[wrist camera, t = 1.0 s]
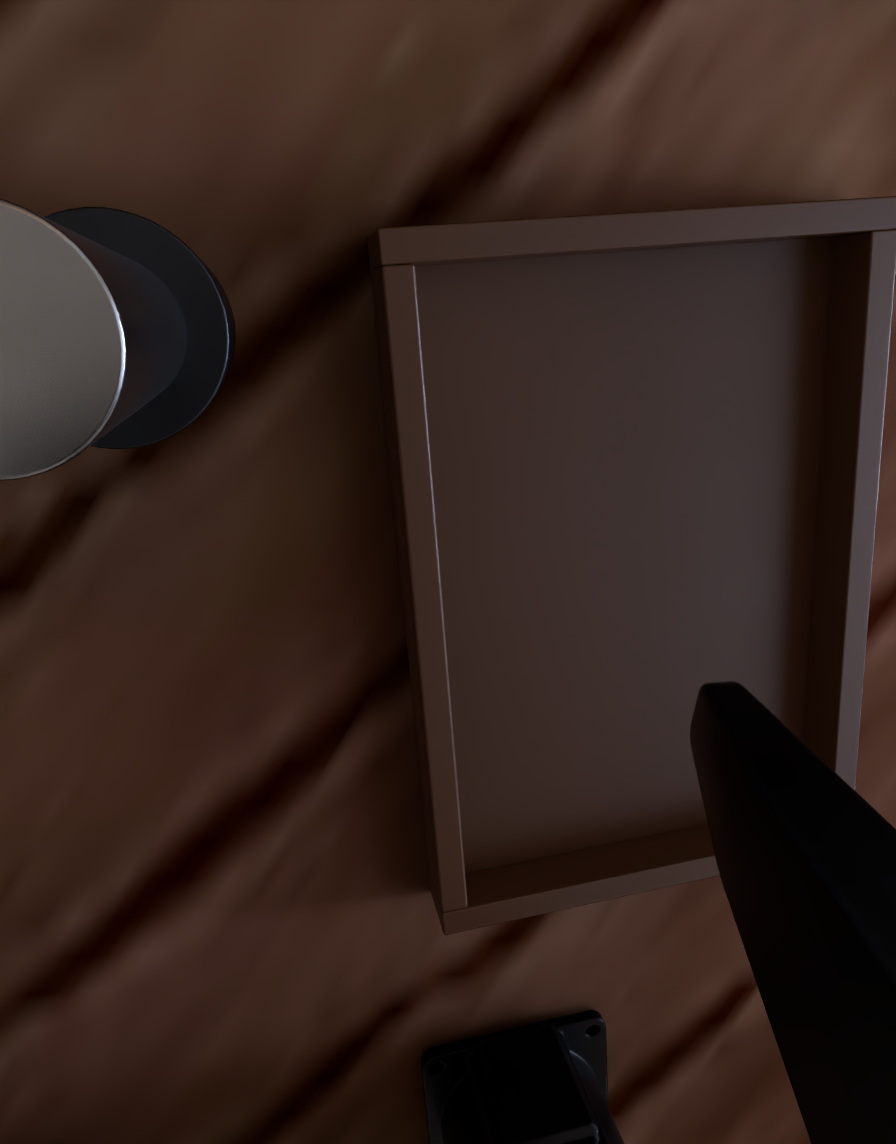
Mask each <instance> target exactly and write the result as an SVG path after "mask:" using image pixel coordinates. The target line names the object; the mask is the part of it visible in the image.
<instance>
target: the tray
mask: <svg viewBox="0 0 896 1144" xmlns="http://www.w3.org/2000/svg"><path fill="white" fill-rule="evenodd" d="M367 241H368V251H369V262H370V272H371V282H372V292H373V302H374V313H375V323H376V333H377V343H378V354H379V364H380V374H381V384H382V394H383V405H384V415H385V425H386V435H387V445H388V456H389V466H390V476H391V486H392V497H393V507H394V517H395V527H396V537H397V548H398V558H399V568H400V578H401V588H402V599H403V609H404V619H405V629H406V639H407V650H408V660H409V670H410V680H411V691H412V701H413V711H414V721H415V731H416V742H417V752H418V762H419V772H420V782H421V793H422V803H423V813H424V823H425V834H426V844H427V854H428V864H429V874H430V885H431V894H432V897H433V900H434V903H435V907H436V910H437V913H438V917H439V920H440V923H441V926H442V930H443V933H444V935H448V934H453V933H457V932H462V931H467V930H471V929H476V928H480V927H485V926H490V925H494V924H499V923H503V922H508V921H513V920H517V919H522V918H526V917H531V916H536V915H540V914H545V913H549V912H554V911H559V910H563V909H568V908H572V907H577V906H581V905H586V904H591V903H595V902H600V901H604V900H609V899H614V898H618V897H623V896H627V895H632V894H637V893H641V892H646V891H650V890H655V889H660V888H664V887H669V886H673V885H678V884H683V883H687V882H692V881H696V880H701V879H705V878H710V877H715V876H719V875H720V873H719V870H718V867H717V863H716V858H715V854H714V850H713V846H712V841H711V837H710V832H709V827H708V823H707V818H706V814H705V809H704V804H703V800H702V795H701V791H700V786H699V781H698V777H697V772H696V768H695V763H694V759H693V754H692V749H691V744H690V726H691V721H692V717H693V713H694V709H695V704H696V700H697V696H698V692H699V689H700V687H701V686H702V685H703V684H705V683H711V682H724V681H735V682H738V683H740V684H741V685H743V686H744V687H745V688H746V689H747V690H748V691H749V692H750V693H751V694H752V695H754V696H755V697H756V698H757V699H758V700H759V701H760V702H761V703H762V704H763V705H764V706H765V707H766V708H767V709H768V710H769V711H771V712H772V713H773V714H774V715H775V716H776V717H777V718H778V719H779V720H780V721H781V722H782V723H783V724H784V725H785V726H786V727H788V728H789V729H790V730H791V731H792V732H793V733H794V734H795V735H796V736H797V737H798V738H799V739H800V740H801V741H802V742H804V743H805V744H806V745H807V746H808V747H809V748H810V749H811V750H812V751H813V752H814V753H815V754H816V755H817V756H818V757H819V758H821V759H822V760H823V761H824V762H825V763H826V764H827V765H828V766H829V767H830V768H831V769H832V770H833V771H834V772H835V773H836V774H838V775H839V776H840V777H841V778H842V779H843V780H844V781H845V782H846V783H847V784H848V785H849V786H850V787H851V788H852V789H854V790H855V780H856V767H857V755H858V742H859V729H860V716H861V703H862V691H863V678H864V665H865V652H866V639H867V626H868V614H869V601H870V588H871V575H872V562H873V550H874V537H875V524H876V511H877V498H878V486H879V473H880V460H881V447H882V434H883V422H884V409H885V396H886V383H887V370H888V358H889V345H890V332H891V319H892V306H893V294H894V281H895V268H896V196H890V197H874V198H858V199H842V200H825V201H809V202H793V203H777V204H761V205H745V206H729V207H713V208H697V209H680V210H664V211H648V212H632V213H616V214H600V215H584V216H568V217H551V218H535V219H519V220H503V221H487V222H471V223H455V224H439V225H423V226H406V227H390V228H379V229H377V230H376V231H375V232H373V233H372V234H371V235H369V236H368V237H367Z"/></svg>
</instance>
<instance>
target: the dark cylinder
mask: <svg viewBox="0 0 896 1144" xmlns="http://www.w3.org/2000/svg"><path fill="white" fill-rule="evenodd" d="M235 337H236V333H235V322H234V317H233V313H232V309H231V306H230V303H229V300H228V298H227V296H226V294H225V292H224V290H223V288H222V286H221V285H220V283H219V281H218V280H217V278H216V277H215V276H214V274H213V273H212V272H211V271H210V270H209V268H208V267H207V266H206V265H205V264H204V263H203V262H202V261H201V260H200V258H199V257H198V256H197V255H196V254H195V253H194V252H193V251H192V250H191V249H190V248H189V247H188V246H187V245H186V244H185V243H184V242H183V241H181V240H180V239H179V238H178V237H176V236H175V235H174V234H172V233H171V232H170V231H168V230H167V229H165V228H163V227H162V226H160V225H158V224H156V223H155V222H153V221H151V220H149V219H146V218H144V217H141V216H139V215H137V214H133V213H130V212H126V211H123V210H118V209H112V208H105V207H82V208H74V209H68V210H64V211H60V212H56V213H53V214H51V215H48V216H46V217H43V216H41V215H39V214H37V213H35V212H32V211H30V210H28V209H26V208H24V207H21V206H19V205H16V204H14V203H11V202H9V201H6V200H3V199H0V481H3V480H15V479H21V478H27V477H32V476H35V475H38V474H41V473H45V472H48V471H50V470H52V469H54V468H57V467H59V466H61V465H63V464H65V463H66V462H68V461H70V460H71V459H73V458H74V457H76V456H77V455H79V454H80V453H82V452H83V451H84V450H86V449H87V448H88V447H90V446H94V447H99V448H109V449H130V448H137V447H143V446H148V445H151V444H154V443H158V442H161V441H163V440H165V439H167V438H170V437H172V436H174V435H176V434H177V433H179V432H180V431H182V430H184V429H185V428H187V427H188V426H189V425H190V424H191V423H193V422H194V421H195V420H196V419H197V418H198V417H199V416H200V415H201V414H202V413H203V412H204V411H205V410H206V408H207V407H208V406H209V404H210V403H211V401H212V400H213V398H214V397H215V395H216V393H217V392H218V390H219V388H220V386H221V385H222V383H223V381H224V379H225V377H226V375H227V373H228V371H229V369H230V366H231V363H232V360H233V355H234V350H235Z"/></svg>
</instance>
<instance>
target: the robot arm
mask: <svg viewBox="0 0 896 1144" xmlns="http://www.w3.org/2000/svg"><path fill="white" fill-rule="evenodd" d="M690 744H691V749H692V754H693V759H694V763H695V768H696V772H697V777H698V781H699V786H700V791H701V795H702V800H703V804H704V809H705V814H706V818H707V823H708V827H709V832H710V837H711V841H712V846H713V850H714V854H715V858H716V863H717V867H718V870H719V873H720V877H721V880H722V883H723V886H724V889H725V892H726V895H727V898H728V901H729V904H730V907H731V910H732V913H733V916H734V919H735V922H736V924H737V927H738V930H739V933H740V936H741V939H742V942H743V945H744V948H745V951H746V954H747V957H748V960H749V962H750V965H751V968H752V971H753V974H754V977H755V980H756V983H757V986H758V989H759V992H760V995H761V997H762V1000H763V1003H764V1006H765V1009H766V1012H767V1015H768V1018H769V1021H770V1024H771V1027H772V1030H773V1033H774V1035H775V1038H776V1041H777V1044H778V1047H779V1050H780V1053H781V1056H782V1059H783V1062H784V1065H785V1068H786V1071H787V1073H788V1076H789V1079H790V1082H791V1085H792V1088H793V1091H794V1094H795V1097H796V1100H797V1103H798V1106H799V1109H800V1111H801V1114H802V1117H803V1120H804V1123H805V1126H806V1129H807V1132H808V1135H809V1138H810V1141H811V1144H896V829H895V828H894V827H893V826H892V825H891V824H890V823H889V822H888V821H886V820H885V819H884V818H883V817H882V816H881V815H880V814H879V813H878V812H877V811H876V810H875V809H874V808H873V807H872V806H871V805H869V804H868V803H867V802H866V801H865V800H864V799H863V798H862V797H861V796H860V795H859V794H858V793H857V792H856V791H855V790H854V789H852V788H851V787H850V786H849V785H848V784H847V783H846V782H845V781H844V780H843V779H842V778H841V777H840V776H839V775H838V774H836V773H835V772H834V771H833V770H832V769H831V768H830V767H829V766H828V765H827V764H826V763H825V762H824V761H823V760H822V759H821V758H819V757H818V756H817V755H816V754H815V753H814V752H813V751H812V750H811V749H810V748H809V747H808V746H807V745H806V744H805V743H804V742H802V741H801V740H800V739H799V738H798V737H797V736H796V735H795V734H794V733H793V732H792V731H791V730H790V729H789V728H788V727H786V726H785V725H784V724H783V723H782V722H781V721H780V720H779V719H778V718H777V717H776V716H775V715H774V714H773V713H772V712H771V711H769V710H768V709H767V708H766V707H765V706H764V705H763V704H762V703H761V702H760V701H759V700H758V699H757V698H756V697H755V696H754V695H752V694H751V693H750V692H749V691H748V690H747V689H746V688H745V687H744V686H743V685H741V684H740V683H738V682H735V681H724V682H711V683H705V684H703V685H702V686H701V687H700V689H699V692H698V696H697V700H696V704H695V709H694V713H693V717H692V721H691V726H690ZM591 1025H592V1026H591ZM589 1026H591V1027H589ZM588 1027H589V1028H588ZM436 1063H439V1064H437V1065H433V1064H436ZM421 1072H422V1081H423V1090H424V1099H425V1108H426V1117H427V1126H428V1135H429V1144H624V1142H623V1140H622V1138H621V1135H620V1133H619V1131H618V1129H617V1126H616V1124H615V1122H614V1120H613V1117H612V1115H611V1113H610V1111H609V1108H608V1085H607V1045H606V1025H605V1022H604V1020H603V1018H602V1016H601V1014H600V1013H599V1012H598V1011H594V1010H588V1011H583V1012H579V1013H575V1014H571V1015H567V1016H563V1017H559V1018H555V1019H550V1020H546V1021H542V1022H538V1023H534V1024H530V1025H526V1026H521V1027H517V1028H513V1029H509V1030H505V1031H501V1032H497V1033H493V1034H488V1035H484V1036H480V1037H476V1038H472V1039H468V1040H464V1041H459V1042H455V1043H451V1044H447V1045H443V1046H439V1047H435V1048H432V1049H429V1050H428V1051H426V1052H425V1053H424V1054H423V1056H422V1057H421Z"/></svg>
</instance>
